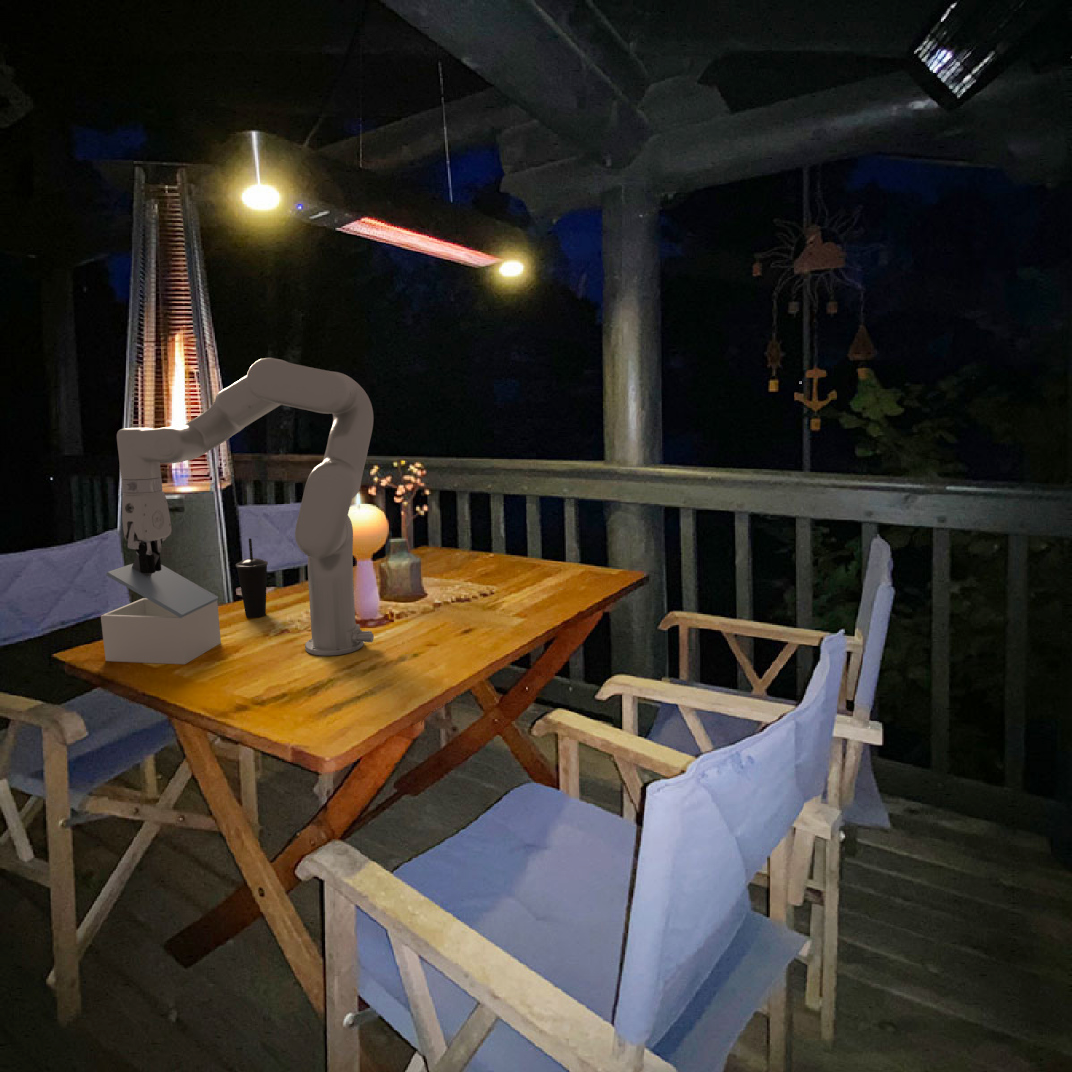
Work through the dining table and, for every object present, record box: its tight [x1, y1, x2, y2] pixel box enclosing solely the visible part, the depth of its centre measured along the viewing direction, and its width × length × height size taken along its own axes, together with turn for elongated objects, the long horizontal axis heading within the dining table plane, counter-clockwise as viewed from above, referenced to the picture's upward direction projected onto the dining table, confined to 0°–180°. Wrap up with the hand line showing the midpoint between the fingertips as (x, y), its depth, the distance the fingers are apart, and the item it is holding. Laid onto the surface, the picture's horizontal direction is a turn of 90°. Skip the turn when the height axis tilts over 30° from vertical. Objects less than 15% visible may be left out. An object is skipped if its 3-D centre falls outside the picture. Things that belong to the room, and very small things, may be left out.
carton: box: [100, 597, 222, 665], centre depth 164 cm, size 18×14×10 cm
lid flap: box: [105, 552, 220, 618], centre depth 161 cm, size 18×14×6 cm
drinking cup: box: [235, 538, 269, 619], centre depth 190 cm, size 8×8×20 cm
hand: (151, 571), depth 161 cm, fingers closed
